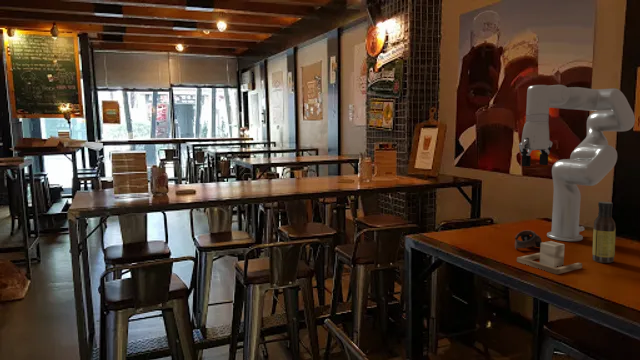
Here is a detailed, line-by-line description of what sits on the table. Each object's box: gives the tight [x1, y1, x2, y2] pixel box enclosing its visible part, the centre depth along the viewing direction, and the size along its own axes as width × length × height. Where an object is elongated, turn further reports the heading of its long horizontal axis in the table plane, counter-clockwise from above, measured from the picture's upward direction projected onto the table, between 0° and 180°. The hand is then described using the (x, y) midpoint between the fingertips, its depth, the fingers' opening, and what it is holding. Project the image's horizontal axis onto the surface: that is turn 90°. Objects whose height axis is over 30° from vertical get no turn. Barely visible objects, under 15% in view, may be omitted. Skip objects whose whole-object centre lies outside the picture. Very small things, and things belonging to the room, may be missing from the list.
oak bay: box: [516, 252, 583, 275], centre depth 144 cm, size 12×14×2 cm
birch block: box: [539, 240, 565, 268], centre depth 145 cm, size 5×5×7 cm
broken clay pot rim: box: [514, 229, 543, 250], centre depth 163 cm, size 12×10×8 cm
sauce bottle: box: [591, 201, 617, 264], centre depth 147 cm, size 6×6×20 cm
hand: (534, 165), depth 165 cm, fingers open, 9 cm apart
